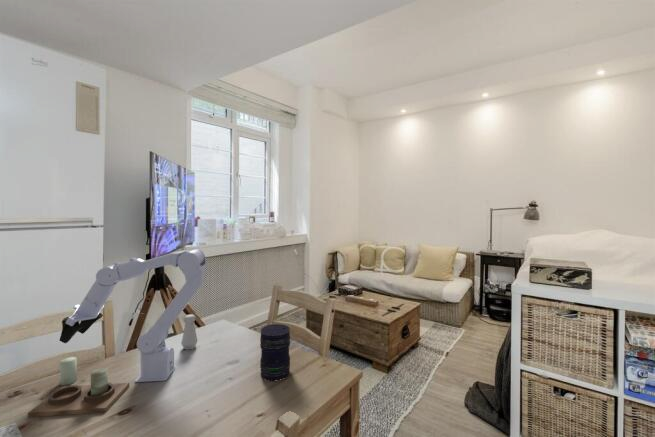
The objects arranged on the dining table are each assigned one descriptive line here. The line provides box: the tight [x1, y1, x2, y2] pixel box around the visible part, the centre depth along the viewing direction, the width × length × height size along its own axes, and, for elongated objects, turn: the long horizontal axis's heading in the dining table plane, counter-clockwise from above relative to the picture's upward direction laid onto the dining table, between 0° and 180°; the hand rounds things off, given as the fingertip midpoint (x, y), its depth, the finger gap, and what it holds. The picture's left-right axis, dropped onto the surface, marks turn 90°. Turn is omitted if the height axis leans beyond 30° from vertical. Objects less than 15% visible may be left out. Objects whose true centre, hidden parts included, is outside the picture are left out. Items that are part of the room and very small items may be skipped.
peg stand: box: [27, 367, 130, 418], centre depth 87 cm, size 19×12×8 cm, turn 97°
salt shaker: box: [181, 313, 198, 351], centre depth 121 cm, size 6×6×13 cm
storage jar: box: [259, 323, 291, 382], centre depth 102 cm, size 10×10×15 cm
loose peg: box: [59, 356, 78, 386], centre depth 96 cm, size 4×4×7 cm
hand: (72, 336), depth 97 cm, fingers open, 7 cm apart
